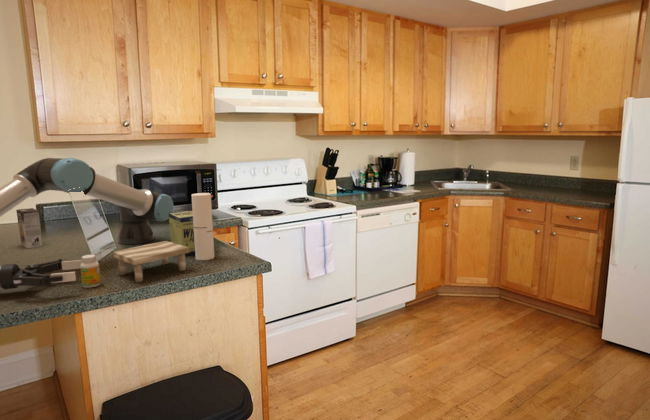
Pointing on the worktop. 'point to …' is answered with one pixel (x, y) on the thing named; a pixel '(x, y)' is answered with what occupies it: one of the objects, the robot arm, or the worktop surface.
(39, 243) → the coffee box
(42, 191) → the robot arm
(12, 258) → the worktop surface
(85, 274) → the supplement bottle
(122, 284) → the worktop surface
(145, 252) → the light wood low table
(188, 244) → the protein box
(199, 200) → the cylindrical container
